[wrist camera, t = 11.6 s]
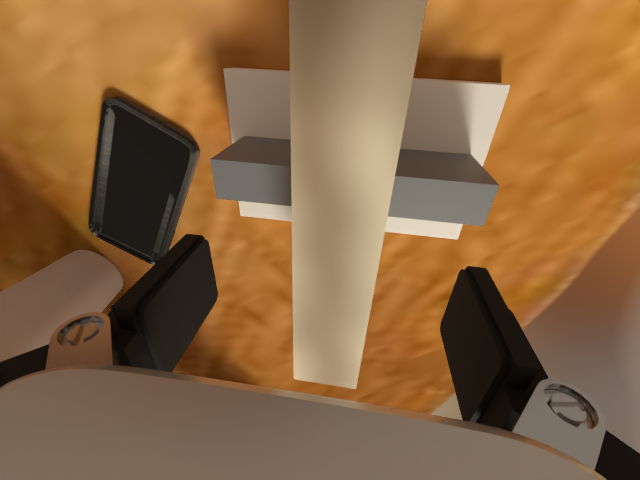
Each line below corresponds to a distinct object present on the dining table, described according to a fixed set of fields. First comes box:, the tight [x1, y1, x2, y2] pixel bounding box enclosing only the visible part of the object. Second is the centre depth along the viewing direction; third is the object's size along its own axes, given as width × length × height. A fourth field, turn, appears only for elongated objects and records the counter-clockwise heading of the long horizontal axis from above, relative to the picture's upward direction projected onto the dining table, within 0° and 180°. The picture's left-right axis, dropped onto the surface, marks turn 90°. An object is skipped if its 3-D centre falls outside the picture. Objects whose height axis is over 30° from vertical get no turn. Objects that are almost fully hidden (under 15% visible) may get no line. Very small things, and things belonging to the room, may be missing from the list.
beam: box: [289, 0, 427, 389], centre depth 15 cm, size 4×22×5 cm, turn 178°
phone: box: [88, 97, 200, 265], centre depth 28 cm, size 8×1×15 cm
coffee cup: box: [0, 250, 123, 362], centre depth 28 cm, size 10×10×15 cm
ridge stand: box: [210, 67, 511, 239], centre depth 20 cm, size 11×18×7 cm, turn 88°
